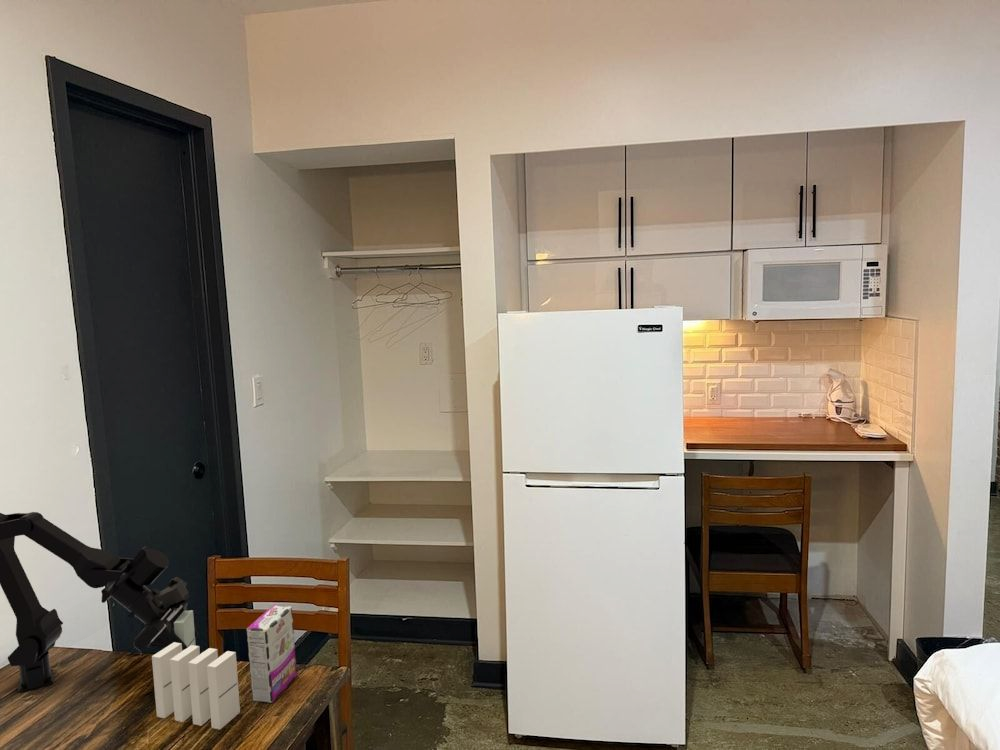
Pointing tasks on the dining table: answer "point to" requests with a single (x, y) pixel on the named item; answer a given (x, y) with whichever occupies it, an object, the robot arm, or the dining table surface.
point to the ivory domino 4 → (223, 689)
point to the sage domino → (185, 628)
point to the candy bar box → (271, 653)
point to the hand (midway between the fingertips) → (192, 643)
